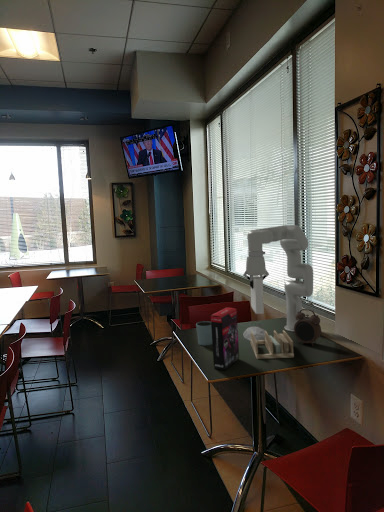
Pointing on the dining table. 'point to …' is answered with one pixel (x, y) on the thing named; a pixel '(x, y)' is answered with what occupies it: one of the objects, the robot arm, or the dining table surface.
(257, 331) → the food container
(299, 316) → the alarm clock
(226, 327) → the graphics card box
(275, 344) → the sage offcut
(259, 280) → the white rectangular block
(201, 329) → the grey cylindrical cup
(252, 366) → the dining table surface
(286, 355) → the rack
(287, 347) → the plywood offcut
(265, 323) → the dining table surface
